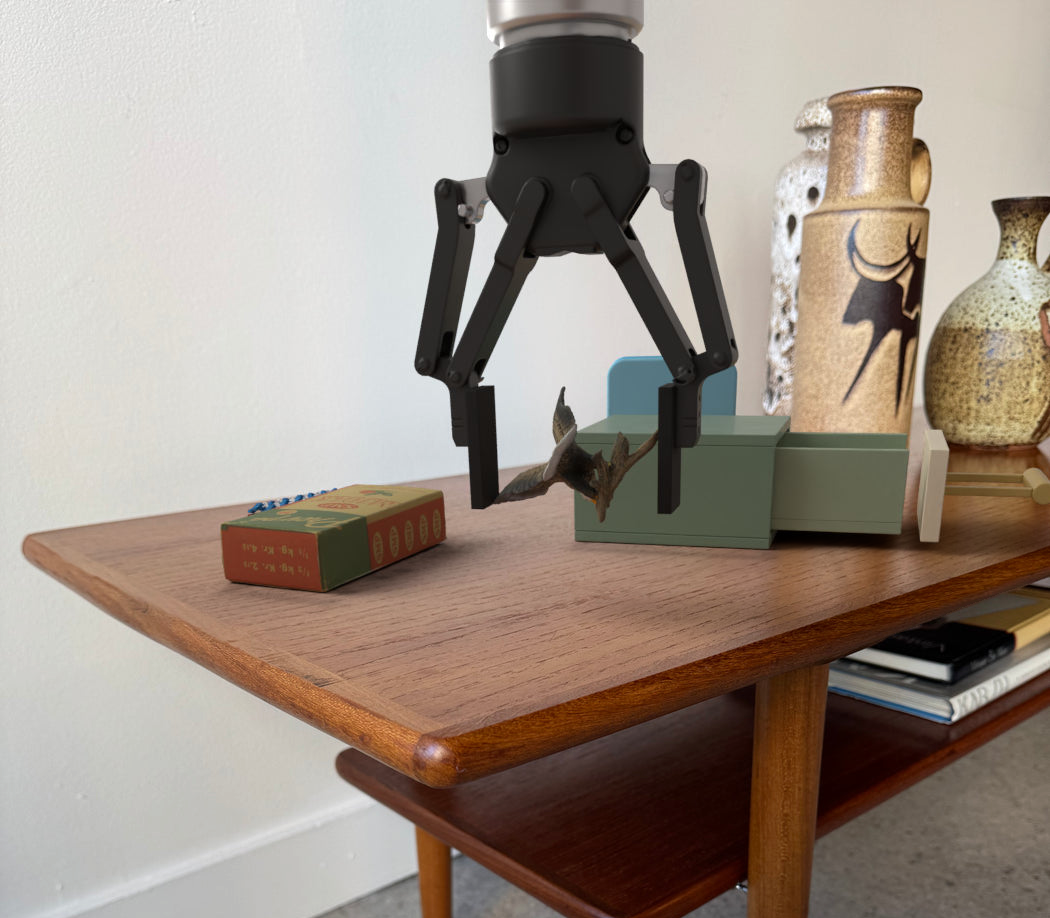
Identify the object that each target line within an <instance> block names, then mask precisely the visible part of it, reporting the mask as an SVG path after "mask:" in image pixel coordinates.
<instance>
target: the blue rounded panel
mask: <svg viewBox="0 0 1050 918" xmlns="http://www.w3.org/2000/svg"><path fill="white" fill-rule="evenodd" d="M606 375H607V376H606V418H608V417H610V416H612V415H658V387H660V386H663V385H665V384H667V383H673V382H672V380H673V379H674V378H673V376H672V374H671V372H670V370H669V369H668V367H667V365H666V363H665V361H664V359H663V357H662V356H661V355H637V356H636V355H633V356H622V357H619V358H617V359H616V360H615V361H614V362H613V363H612V364H611V366H610V367H609V368H608V371H607V374H606ZM737 391H738V370H737V367H736V364H735V365H733V366H732V367H730V368H728V369H726V370H724V371H721V372H719V373H716V374H713V375H711V376H709V377H708V378H707V379H706V380H705V381H704V383H703V386H702V410H701V415H736V414H737V395H738V394H737Z"/></svg>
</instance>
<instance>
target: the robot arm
mask: <svg viewBox="0 0 1050 918" xmlns="http://www.w3.org/2000/svg"><path fill="white" fill-rule="evenodd" d="M485 7H486V8H485V9H486V10H485V11H486V34H487V38H488V39H489V40H490V41H491V42H492V44H494V45H496V46H497V47H498V48H499V49H498V50H496V51H495V52H494V54H493V55H492V58H491V59H490V60H489V61H488V77H489V78H488V79H489V99H490V123H491V138H492V139H491V140H492V147H493V148H492V149H493V150H492V157H491V162H490V166H489V168H488V170H487V172H486V176H481V177H475V178H469V179H463V180H462V179H461V180H456V179H453V178H447V177H443V178H440V179H438V180H437V181H436V182H435V185H434V187H433V189H434V190H433V195H434V204H435V211H436V220H437V232H436V238H435V244H434V249H433V255H432V261H431V267H430V271H429V277H428V283H427V289H426V294H425V300H424V305H423V310H422V318H421V321H420V327H419V333H418V338H417V345H416V350H415V354H414V361H413V367H414V370H415V372H416V373H417V374H418V375H420V376H421V377H429V378H432V379H435V380H437V381H440V382H442V383H443V384H444V385H445V387H446V388H447V390H448V393H449V406H450V419H451V420H450V424H451V438H452V440H453V443H454V445H455V447H456V448H467V454H468V455H467V456H468V457H467V458H468V473H469V476H468V477H469V492H470V494H469V495H470V509H471V510H480V511H481V510H483V511H485V509H486V510H487V508H489V507H491V506H494V500H495V499H496V497H497V496H498V495H499V494H500V479H499V478H500V477H499V458H498V457H499V456H498V455H499V454H498V431H497V412H496V391H495V390H496V388H495V385H494V384H492V385H490V384H489V385H482V384H481V385H479V384H480V383H481V382H483V381H484V380H485V377H484V376H483V374H484V372H485V370H486V367H487V365H488V362H489V361H490V359H491V356H492V354H493V352H494V350H495V348H496V346H497V344H498V341H499V338H500V337H501V335H502V332H503V330H504V328H505V326H506V324H507V322H508V319H509V317H510V315H511V313H512V311H513V309H514V306H515V304H516V302H517V300H518V298H519V295H520V294H521V291H522V289H523V287H524V285H525V282H526V281H527V279H528V276H529V275H530V273H531V272H532V271H533V270H534V269H535V267H536V265H537V263H538V260H539V258H557V257H558V258H559V257H563V256H566V255H569V254H573V253H574V254H578V255H586V256H596V255H604V256H605V257H606V259H607V261H608V262H609V264H610V265H611V267H613V269H614V270H615V272H616V274H617V275H618V277H619V279H620V281H621V283H622V285H623V287H624V289H625V290H626V292H627V294H628V296H629V298H630V300H631V302H632V304H633V306H634V308H635V309H636V311H637V313H638V314H639V316H640V318H641V321H642V322H643V324H644V326H645V327H646V329H647V332H648V334H649V335H650V337H651V339H652V341H653V342H654V344H655V346H656V348H657V350H658V352H659V353H660V356H662V357H663V359H664V361H665V363H666V365H667V367H668V369H669V370H670V372H671V374H672V376H673V378H674V379H673V380H672V382H673V383H667V384H665V385H663V386H660V387H658V489H657V514H672V513H673V512H674V511H675V510H676V509H677V508H678V507H679V506H680V492H681V448H693V447H694V446H696V445H697V443H698V441H699V438H700V436H701V410H702V386H703V383H704V381H705V380H706V379H707V378H708V377H709V376H711V375H713V374H716V373H719V372H721V371H724V370H726V369H728V368H730V367H732V366H733V365H735V366H736V364H737V362H738V360H739V356H740V355H739V349H738V345H737V341H736V337H735V336H736V335H735V331H734V328H733V324H732V321H731V316H730V311H729V308H728V304H727V300H726V296H725V291H724V287H723V284H722V278H721V275H720V271H719V267H718V263H717V258H716V255H715V252H714V246H713V241H712V238H711V234H710V230H709V225H708V222H707V218H706V206H707V205H706V204H707V194H708V182H709V173H708V170H707V169H706V167H705V166H703V165H702V164H701V163H699V162H698V161H696V160H694V159H692V158H686V159H683V160H681V161H680V162H679V163H652V161H651V160H650V158H649V155H648V153H647V151H646V147H645V141H644V109H645V108H644V100H645V99H644V93H645V90H644V87H645V86H644V85H645V83H644V81H645V78H644V77H645V76H644V74H645V73H644V72H645V71H644V70H645V69H644V67H645V65H644V64H645V63H644V62H645V61H644V59H645V58H644V57H645V56H644V53H643V52H642V51H641V50H640V48H639V46H638V45H637V44H636V43H634V42H633V41H632V40H634V39H635V38H636V37H638V36H639V35H640V33H641V32H642V31H643V28H644V26H645V24H644V23H645V17H644V16H645V0H485ZM651 189H654V190H656V192H657V193H658V196H659V201H660V204H661V207H663V208H664V210H666V211H669V212H671V213H672V216H673V217H672V218H673V224H674V230H675V235H676V239H677V241H678V246H679V249H680V254H681V259H682V261H683V266H684V269H685V273H686V278H687V282H688V285H689V289H690V294H691V298H692V302H693V305H694V309H695V313H696V317H697V321H698V325H699V330H700V333H701V337H702V341H703V345H704V350H705V351H703V352H701V353H698V352H697V350H696V348H695V346H694V345H693V342H692V341H691V339H690V337H689V335H688V334H687V332H686V330H685V328H684V325H683V324H682V322H681V320H680V319H679V316H678V314H677V312H676V311H675V309H674V307H673V305H672V303H671V301H670V300H669V298H668V296H667V294H666V292H665V290H664V288H663V286H662V284H661V282H660V280H659V278H658V277H657V275H656V273H655V271H654V269H653V267H652V266H651V264H650V261H649V260H648V258H647V256H646V252H645V249H644V247H643V245H642V243H641V241H640V239H639V237H638V236H637V233H636V232H635V230H634V228H633V226H632V224H631V221H632V219H633V218H634V216H635V214H637V213H636V212H637V211H638V209H639V208H640V206H641V205H642V204H643V202H644V200H645V198H646V197H647V195H648V193H649V192H650V191H651ZM489 202H491V203H492V204H493V206H494V207H495V209H496V211H498V214H499V215H500V216H501V218H502V219H503V221H504V222H505V224H506V225H507V226H506V227H505V230H504V232H503V235H502V236H501V238H500V241H499V243H498V245H497V248H496V250H495V252H494V256H493V259H494V260H493V265H492V266H491V269H490V271H489V274H488V276H487V278H486V281H485V282H484V285H483V286H482V289H481V292H480V294H479V297H478V299H477V300H476V304H475V305H474V307H473V310H472V312H471V315H470V316H469V318H468V321H467V323H466V326H465V328H464V330H463V333H462V335H461V337H460V339H459V341H458V344H457V346H456V349H454V348H455V343H456V339H457V334H458V328H459V324H460V320H461V319H460V318H461V313H462V307H463V302H464V297H465V292H466V289H467V282H468V278H469V272H470V267H471V262H472V257H473V252H474V248H475V247H474V246H475V241H476V227H477V226H476V225H477V224H479V223H480V222H481V221H482V220H483V217H484V214H485V208H486V205H487V204H488V203H489Z"/></svg>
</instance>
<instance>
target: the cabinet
mask: <svg viewBox="0 0 1050 918" xmlns="http://www.w3.org/2000/svg"><path fill="white" fill-rule="evenodd" d="M791 422H792V415H738V414H737V415H701V436H700V438H699V441H698V443H697V445H696V446H694V447H693V448H681V492H680V506H679V507H678V508H677V509H676V510H675V511H674V512H673V513H672V514H657V489H658V440H657V442H656V444H655V446H654V447H653V448H652V449H651V451H649V452H648V453H647V454H646V455H645V456H643V457H642V458H641V459H640V460H639V461H638V462H636V463H635V464H634V465H633V466H632V467H631V468H630V470H629V471H628V472H626V474H625V475H624V477H623V480H622V481H621V482H620V484H619V486H618V487H617V488H616V490H615V491H614V495H613V499H611V501H610V507H609V508H607V510H606V517H605V520H604V522H603V523H600V522H599V518H598V514H597V511H596V508H595V506H596V505H595V504H594V503H593V502H591V501H587V500H586V499H585V498H584V497H583V496H582V495H581V493H580V492H578V491H576V490H574V489H573V522H574V524H573V525H574V527H573V529H574V541H575V542H589V543H590V542H593V543H613V544H614V543H615V544H637V545H660V546H679V547H681V546H682V547H702V548H704V547H705V548H706V547H707V548H724V549H725V548H726V549H727V548H729V549H746V550H747V549H751V550H769V549H770V547H771V546H772V543H773V541H774V539H775V537H776V535H777V533H778V532H779V530H771V523H772V506H773V489H774V473H775V456H776V446H775V445H776V444H777V443H778V441H779V440H780V439H781V437H782V436H783V435H784V433H785V432H791V424H792V423H791ZM657 429H658V415H612V416H610V417H608V418H607V417H606V418H604V419H602V420H599V421H597V422H594V423H592V424H590V425H588V426H585V427H583V428H581V429H578V430H577V434H576V437H575V442H576V444H577V445H578V446H579V447H581V448H582V449H583V450H585V451H586V452H587V453H589V454H591V455H594V454H595V452H596V451H598V450H600V449H602V456H603V458H604V460H605V461H607V462H610V461H611V455H612V448H613V446H614V443H615V440H616V437H617V434H618V432H619V431H621V432H622V435H624V436H625V437H626V438H627V440H628V442H629V455H631V454H633V453H634V452H635V451H636V450H637V449H638V448H639V447H640V446H641V445H642V444H643V443H644V442H645V441H647V440H648V439H649V438H650V437H651V436H652V435H653V434H654V432H655V431H656V430H657ZM594 471H595V474H596V479H597V480H598V473H597V469H594Z"/></svg>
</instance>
